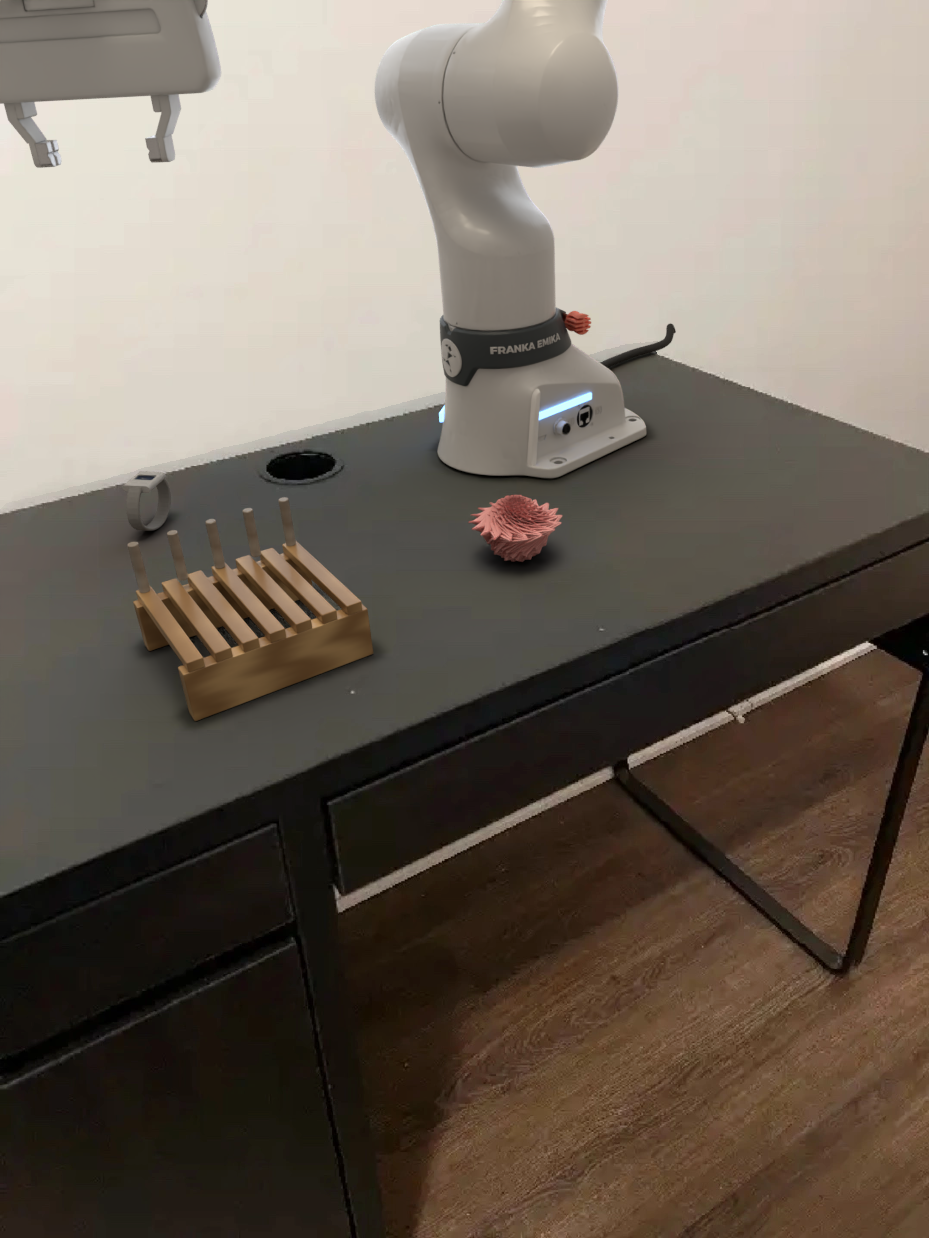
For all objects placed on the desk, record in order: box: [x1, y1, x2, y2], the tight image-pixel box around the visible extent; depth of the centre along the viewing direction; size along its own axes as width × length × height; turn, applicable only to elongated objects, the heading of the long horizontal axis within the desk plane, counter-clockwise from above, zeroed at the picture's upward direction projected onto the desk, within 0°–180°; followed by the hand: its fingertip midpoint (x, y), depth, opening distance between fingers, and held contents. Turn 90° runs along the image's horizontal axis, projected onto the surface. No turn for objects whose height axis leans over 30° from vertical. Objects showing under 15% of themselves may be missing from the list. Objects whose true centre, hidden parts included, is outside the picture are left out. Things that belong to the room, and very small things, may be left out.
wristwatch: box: [122, 470, 172, 532], centre depth 97 cm, size 6×3×5 cm, turn 167°
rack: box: [126, 496, 374, 722], centre depth 76 cm, size 14×12×9 cm
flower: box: [467, 494, 564, 563], centre depth 87 cm, size 8×8×6 cm
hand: (105, 164), depth 80 cm, fingers open, 8 cm apart
